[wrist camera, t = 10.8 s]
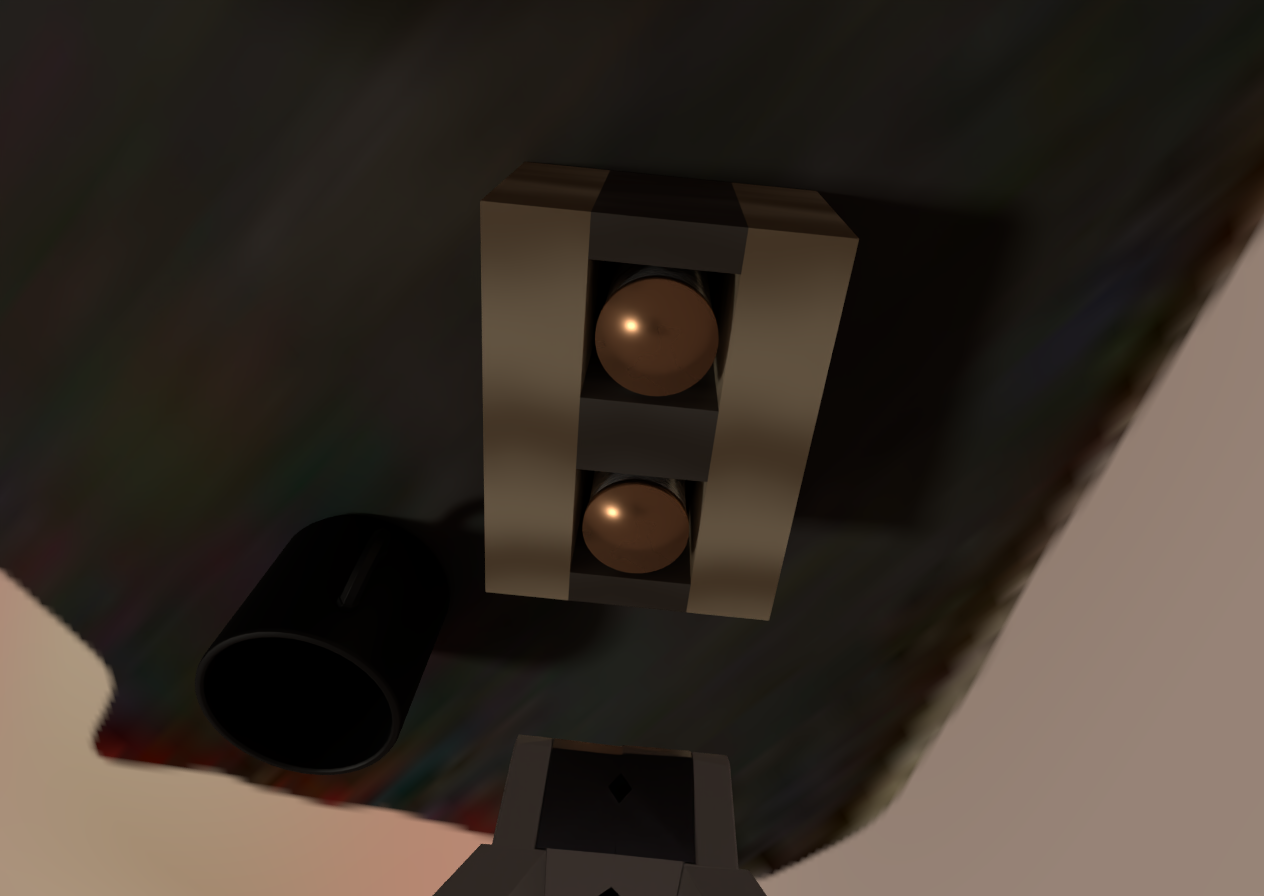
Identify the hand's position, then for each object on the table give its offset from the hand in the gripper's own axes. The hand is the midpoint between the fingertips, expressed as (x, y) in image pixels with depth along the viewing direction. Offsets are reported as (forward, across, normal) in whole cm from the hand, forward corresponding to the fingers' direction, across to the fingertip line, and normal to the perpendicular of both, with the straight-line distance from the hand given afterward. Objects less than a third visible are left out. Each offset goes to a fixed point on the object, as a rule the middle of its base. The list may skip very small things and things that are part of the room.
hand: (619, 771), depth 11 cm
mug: (+25, +14, +18) cm, 34 cm away
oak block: (+25, 0, +4) cm, 25 cm away
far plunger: (+24, 0, +8) cm, 26 cm away
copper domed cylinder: (+24, 0, 0) cm, 24 cm away
